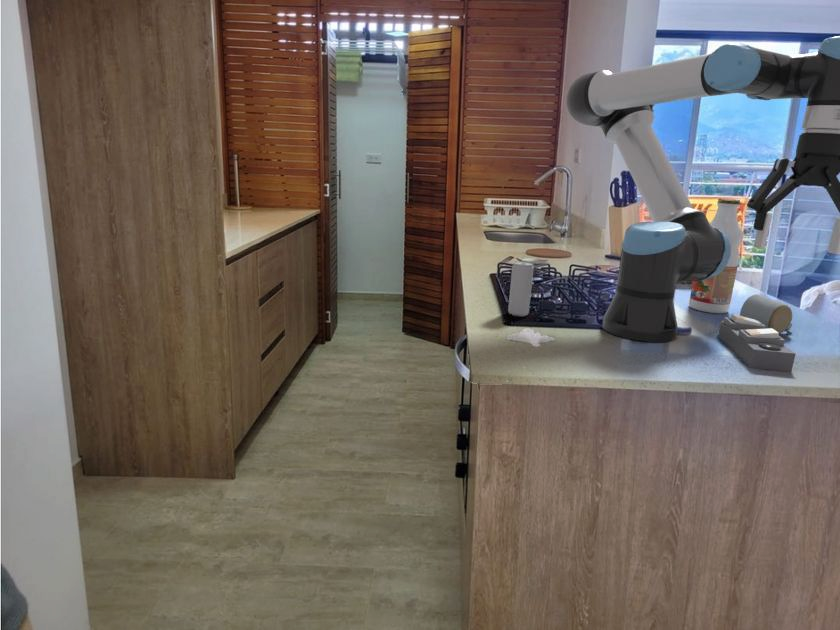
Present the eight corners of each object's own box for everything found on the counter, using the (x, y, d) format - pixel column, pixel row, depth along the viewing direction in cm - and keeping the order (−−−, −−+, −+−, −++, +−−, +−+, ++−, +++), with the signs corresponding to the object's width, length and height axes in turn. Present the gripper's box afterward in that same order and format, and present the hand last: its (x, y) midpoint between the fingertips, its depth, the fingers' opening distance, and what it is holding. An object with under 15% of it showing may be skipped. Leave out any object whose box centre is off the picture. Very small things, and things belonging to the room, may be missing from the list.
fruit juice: (728, 316, 144) (752, 201, 136) (687, 310, 148) (707, 198, 140) (728, 308, 152) (750, 199, 145) (689, 302, 156) (708, 196, 149)
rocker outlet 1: (735, 322, 120) (737, 317, 120) (730, 318, 123) (732, 313, 123) (758, 328, 119) (761, 323, 119) (753, 324, 122) (755, 319, 122)
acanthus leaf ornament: (505, 342, 116) (506, 333, 116) (521, 335, 122) (522, 326, 121) (540, 350, 112) (541, 341, 112) (554, 342, 117) (556, 333, 117)
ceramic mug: (768, 336, 128) (776, 303, 126) (736, 326, 135) (743, 294, 133) (800, 334, 132) (808, 301, 130) (767, 324, 139) (774, 293, 137)
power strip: (750, 367, 107) (755, 343, 106) (717, 336, 126) (721, 315, 125) (791, 371, 106) (797, 347, 105) (752, 339, 125) (756, 319, 124)
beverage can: (505, 314, 134) (510, 263, 131) (510, 310, 138) (515, 260, 135) (526, 318, 132) (531, 266, 129) (530, 313, 137) (536, 262, 133)
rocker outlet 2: (750, 339, 111) (751, 334, 111) (745, 334, 114) (745, 329, 114) (778, 337, 110) (778, 332, 110) (772, 333, 113) (772, 327, 113)
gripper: (763, 127, 100) (736, 249, 106) (913, 136, 99) (878, 259, 105) (743, 128, 108) (719, 242, 114) (883, 137, 106) (851, 252, 112)
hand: (795, 250), depth 109 cm, fingers open, 13 cm apart
